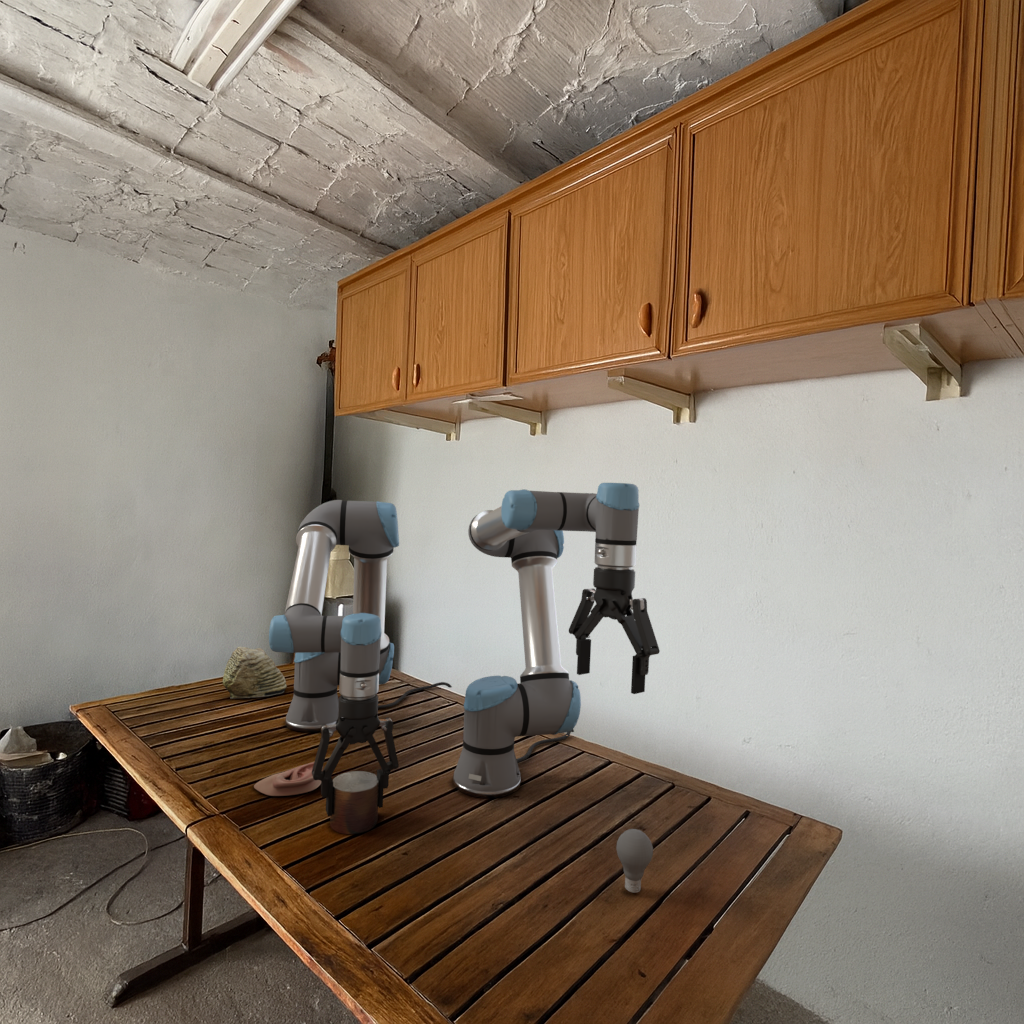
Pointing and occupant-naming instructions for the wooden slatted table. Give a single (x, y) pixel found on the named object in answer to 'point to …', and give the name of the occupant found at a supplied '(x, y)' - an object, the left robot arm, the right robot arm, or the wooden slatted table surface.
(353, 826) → the tin
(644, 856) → the light bulb
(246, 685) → the fossil
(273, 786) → the anatomical model
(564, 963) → the wooden slatted table surface
